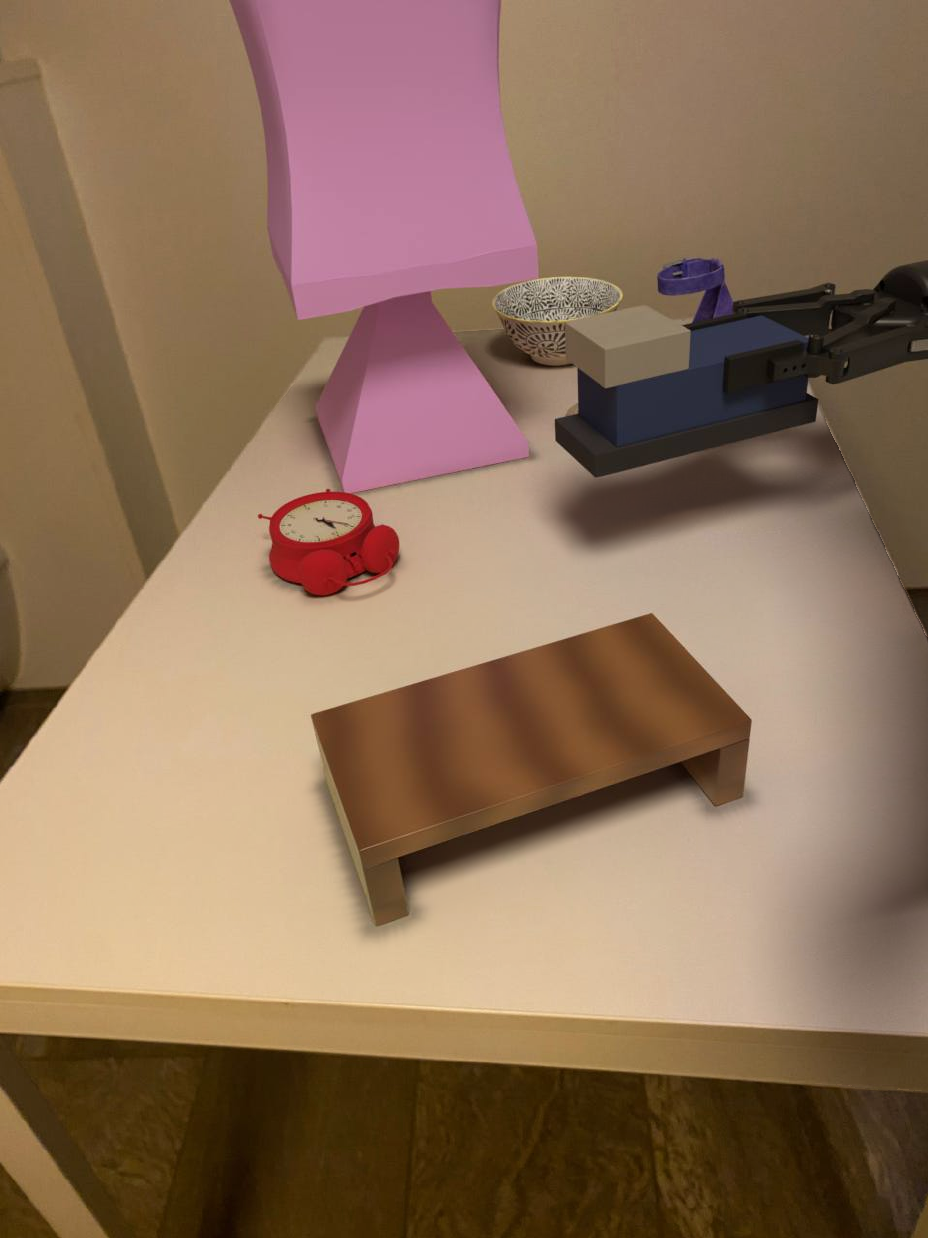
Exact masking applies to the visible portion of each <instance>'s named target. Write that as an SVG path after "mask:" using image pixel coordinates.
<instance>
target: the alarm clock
mask: <svg viewBox="0 0 928 1238" xmlns="http://www.w3.org/2000/svg"><path fill="white" fill-rule="evenodd" d="M257 518H258V519H259V520H262V519H264V520H268V521H269V526H268V532H269V535H270V539H271V548H270V550H269V554H268V560H269V565H270V568H271V569H272V571H273V572H274V573H275V574H276V575H277V576H278V577H280V578H282V579H284V580H286V581H289V582H293V583H296V584H300V585H302V587H303V588H304V590H305V591H307V592H308V593H310V594H311V595H316V596H328V595H332V594H335V593H337V592H338V591H340V590H341V589H342V588H343V587H344V586H346V587H353V586H354V587H355V586H360V585H364V584H368V583H369V582H372V581H376V580H377V579H379V578H381V577H383V576H385V575H386V574H387V573H389V572H390V571H391V570H392V569H393V567H394V566H393V565H394V564H395V562H396V560H397V559H398V556H399V554H400V553H399V552H400V538H399V535H398V534H397V532H396V530H395V529H394V528H393V527H391V526H389V525H386V524H384V523H383V524H380V525H375V524H374V515H373V510H372V508H371V506H370V505H369V503H368V501H366V500H365V499H364V498H363V497H360V496H358V495H356V494H354V493H345V492H344V491H331V488H326V489H325V491H321V492H314V493H310V494H306V495H302V496H300V497H296V498H294V499H292V500H289V501H288V502H285V503H284V504H283V505H281V506H280V507H279V508H278V509H276V510H275V512H273V514H272V515H271V516H267V515H263V514H262V513H258V514H257ZM365 571H368V572H370V573H375V574H376V575H375V576H372V577H369V578H366V579H364V580H360V581H355V582H347V581H348V580H349V579H350V578H352V577H353V578H354V577H356V576H358V575H359V574H362V573H363V572H365Z"/></svg>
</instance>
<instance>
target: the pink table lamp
mask: <svg viewBox="0 0 928 1238" xmlns="http://www.w3.org/2000/svg"><path fill="white" fill-rule="evenodd" d="M229 4H230V6H231V8H232V12H233V15H234V18H235V21H236V24H237V27H238V30H239V32H240V33H239V34H240V35H241V39H242V42H243V47H244V49H245V52H246V55H247V59H248V62H249V66H250V69H251V72H252V76H253V82H254V86H255V90H256V93H257V98H258V102H259V103H258V104H259V107H260V115H261V120H262V128H263V136H264V144H265V145H264V146H265V157H266V177H267V178H266V179H267V181H266V182H267V184H266V185H267V202H266V203H267V205H266V206H267V208H266V211H267V212H266V228H267V229H266V230H267V234H268V240H269V244H270V248H271V249H270V250H271V255H272V257H273V260H274V262H275V265H276V267H277V269H278V271H279V273H280V275H281V278H282V280H283V282H284V285H285V288H286V291H287V294H288V297H289V300H290V302H291V305H292V308H293V311H294V314H295V316H296V319H297V321H301V320H307V319H308V320H309V319H311V318H312V319H313V318H319V317H325V316H329V315H336V314H341V313H348V312H351V311H354V310H357V309H361V308H362V310H361V312H360V314H359V316H358V318H357V320H356V322H355V324H354V326H353V328H352V330H351V332H350V334H349V335H348V336H349V337H348V339H347V341H346V343H345V345H344V347H343V349H342V350H341V353H340V355H339V356H338V359H337V361H336V363H335V365H334V367H333V370H332V372H331V374H330V376H329V378H328V380H327V382H326V384H325V386H324V388H323V390H322V392H321V394H320V396H319V398H318V400H317V402H316V404H315V409H316V414H317V420H318V423H319V425H320V428H321V431H322V434H323V437H324V440H325V442H326V445H327V449H328V451H329V454H330V456H331V460H332V462H333V466H334V468H335V471H336V474H337V476H338V479H339V482H340V485H341V488H342V490H343V491H342V492H345V493H350V494H354V493H359V492H364V491H368V490H373V489H378V488H383V487H388V486H393V485H398V484H404V483H407V482H412V481H417V480H422V479H427V478H432V477H436V476H437V477H438V476H442V475H446V474H451V473H457V472H462V471H466V470H467V471H468V470H472V469H477V468H481V467H487V466H491V465H496V464H501V463H506V462H511V461H515V460H520V459H525V458H529V457H530V445H529V443H530V442H529V440H528V439H527V438H526V436H525V434H524V433H523V432H522V430H521V429H520V428H519V426H518V425H517V423H516V421H515V420H514V418H513V417H512V415H511V414H510V413H509V412H508V410H507V408H506V407H505V405H504V404H503V403H502V401H501V400H500V398H499V397H498V396H497V394H496V392H495V391H494V389H493V388H492V387H491V385H490V384H489V383H488V381H487V380H486V378H485V376H484V375H483V374H482V372H481V370H480V369H479V368H478V367H477V365H476V364H475V362H474V361H473V359H472V358H471V356H470V355H469V354H468V352H467V351H466V348H465V347H464V346H463V345H462V343H461V342H460V341H459V339H458V338H457V335H456V334H455V333H454V332H453V330H452V329H451V327H450V326H449V324H448V323H447V321H446V320H445V319H444V317H443V315H442V314H441V313H440V311H439V310H438V308H437V307H436V305H435V304H434V303H433V297H432V291H438V290H445V289H465V288H469V289H470V288H488V287H489V288H490V287H496V286H502V285H508V284H509V285H510V284H514V283H515V284H516V283H522V282H526V281H530V280H535V279H540V278H539V273H540V272H539V253H538V242H537V240H536V237H535V233H534V230H533V229H532V225H531V222H530V219H529V217H528V213H527V211H526V210H527V209H526V207H525V204H524V201H523V198H522V194H521V191H520V188H519V185H518V182H517V179H516V174H515V171H514V167H513V163H512V157H511V154H510V150H509V146H508V142H507V136H506V131H505V124H504V118H503V112H502V107H501V106H502V105H501V91H500V90H501V89H500V88H501V87H500V69H499V68H500V67H499V58H500V57H499V56H500V53H499V52H500V24H501V23H500V21H501V8H502V0H229Z"/></svg>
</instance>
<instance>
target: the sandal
mask: <svg viewBox="0 0 928 1238" xmlns="http://www.w3.org/2000/svg"><path fill="white" fill-rule="evenodd" d="M724 266H725V265H724V264H723V262H722V260H720V259H718V258H716V257H711V259H707V258H701V257H697V258H696V257H695V258H690V259H687V258H686V257H684V258H682V259H679V260H674V261H670V262H667V263H666V262H665V263H664V264H663V265H662V270H660V271H659V272H658V273H657V277H656V281H657V292H658V293H659V294H661V295H663V296H667V297H669V296H670V297H674V296H675V297H677V296H678V297H679V296H685V295H692V294H696V293H700V292H704V293H703V296H702V297H701V300H700V302H699V305H698V307H697V309H696V312H695V314H694V317H693V319H692V322H691V323H694V322H698V321H703V320H707V319H712V318H717V317H721V316H726V315H730V314H732V306H733V302H734V301H733V297H732V296H731V293H730V291H729V288H728V286H727V284H726V274H725V273H726V272H725V267H724ZM574 414H578V402H577V403H575V404H574V405H572V406H571V407H570V408H568V409H567V411H566V413H565V416H570V415H574Z"/></svg>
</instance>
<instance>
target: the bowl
mask: <svg viewBox="0 0 928 1238" xmlns="http://www.w3.org/2000/svg"><path fill="white" fill-rule="evenodd" d="M623 295H624V293H623V291H622V289H621V288H620V287H618V286H617V285H615V284H614V283H611V282H609V281H607V280H603V279H599V278H594V277H586V276H551V277H543V278H538V279H532V280H526V281H521V282H518V283H515V284H513V285H510V286H508V287H506V288H504V289H502V290H501V291H499V292H498V293H497V294H496V295H494V297H493V299H492V301H491V305H492V308H493V310H494V311H495V313H496V315H497V316H498V319H499V321H500V322H501V325H502V327H503V329H504V331H505V334H506V336H507V337H508V339H509V340H510V342H512V343H513V345H514V346H515V347H517V348H518V349H519V350H521V352H524V353H525V354H528V355H530V357H531V360H532V361H534V362H535V363H537V364H540V365H543V366H553V367H554V366H555V367H556V366H557V367H558V366H567V365H573V364H572V363H571V362H569V361H568V360H567V359H566V350H565V322H567V321H571V320H576V319H581V318H585V317H590V316H595V315H599V314H604V313H609V312H613V311H618V309H619V307H620V304H621V302H622V300H623V297H624V296H623Z"/></svg>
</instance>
